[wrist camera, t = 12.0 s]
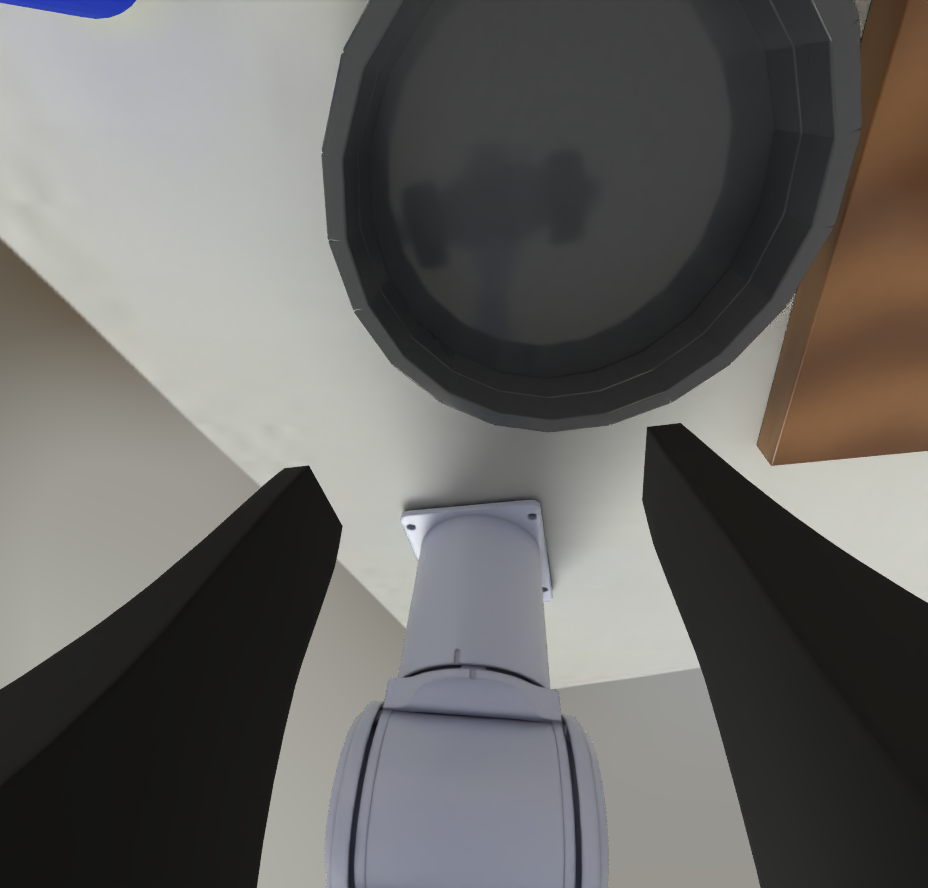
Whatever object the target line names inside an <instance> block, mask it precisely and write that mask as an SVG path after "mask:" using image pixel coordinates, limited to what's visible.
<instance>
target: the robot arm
mask: <svg viewBox="0 0 928 888" xmlns="http://www.w3.org/2000/svg"><path fill="white" fill-rule="evenodd" d="M642 501H643V505H644V509H645V513H646V517H647V521H648V525H649V529H650V533H651V537H652V541H653V544H654V547H655V550H656V553H657V555H658V558H659V560H660V563H661V566H662V568H663V571H664V573H665V576H666V578H667V581H668V584H669V586H670V589H671V591H672V594H673V596H674V599H675V601H676V604H677V607H678V609H679V612H680V614H681V617H682V619H683V622H684V624H685V627H686V629H687V632H688V635H689V637H690V640H691V642H692V645H693V647H694V650H695V652H696V655H697V658H698V661H699V664H700V667H701V670H702V673H703V675H704V678H705V682H706V685H707V689H708V692H709V696H710V699H711V702H712V706H713V710H714V713H715V717H716V720H717V723H718V727H719V731H720V734H721V738H722V741H723V745H724V749H725V752H726V756H727V760H728V763H729V767H730V771H731V774H732V778H733V781H734V785H735V789H736V793H737V796H738V800H739V804H740V808H741V812H742V816H743V819H744V823H745V827H746V831H747V835H748V839H749V843H750V847H751V851H752V855H753V859H754V862H755V866H756V870H757V874H758V879H759V883H760V887H761V888H928V603H927V602H925V601H924V600H922V599H920V598H918V597H917V596H915V595H913V594H912V593H910V592H908V591H907V590H905V589H904V588H902V587H900V586H899V585H897V584H895V583H894V582H892V581H891V580H889V579H887V578H886V577H884V576H883V575H881V574H879V573H878V572H876V571H875V570H873V569H871V568H870V567H868V566H867V565H865V564H863V563H862V562H860V561H859V560H857V559H855V558H854V557H852V556H851V555H849V554H848V553H846V552H845V551H843V550H842V549H840V548H839V547H837V546H836V545H834V544H833V543H831V542H830V541H829V540H827V539H826V538H824V537H823V536H821V535H820V534H819V533H817V532H816V531H814V530H813V529H812V528H810V527H809V526H807V525H806V524H805V523H803V522H802V521H800V520H799V519H798V518H796V517H795V516H794V515H792V514H791V513H790V512H788V511H787V510H786V509H784V508H783V507H782V506H780V505H779V504H778V503H776V502H775V501H774V500H772V499H771V498H770V497H769V496H767V495H766V494H765V493H764V492H762V491H761V490H760V489H759V488H757V487H756V486H755V485H753V484H752V483H751V482H750V481H748V480H747V479H746V478H745V477H743V476H742V475H741V474H740V473H739V472H737V471H736V470H735V469H734V468H733V467H731V466H730V465H729V464H728V463H727V462H725V461H724V460H723V459H722V458H721V457H720V456H718V455H717V454H716V453H715V452H714V451H713V450H711V449H710V448H709V447H708V446H707V445H706V444H704V443H703V442H702V441H701V440H700V439H699V438H697V437H696V436H695V435H694V434H693V433H692V432H691V431H689V430H688V429H687V428H686V427H685V426H683V425H682V424H681V423H678V424H669V425H660V426H652V427H647V436H646V451H645V466H644V482H643V497H642ZM530 514H533V515H530ZM401 523H402V525H403V527H404V530H405V532H406V534H407V537H408V539H409V541H410V544H411V546H412V549H413V551H414V553H415V556H416V558H417V560H418V567H417V572H416V578H415V583H414V589H413V595H412V600H411V606H410V611H409V617H408V623H407V628H406V634H405V639H404V645H403V650H402V656H401V662H400V667H399V673H398V678H390V679H389V680H388V684H387V689H386V694H385V699H384V701H372V702H370V703H369V704H368V705H367V706H366V708H365V709H364V711H363V712H362V713H360V714H359V715H358V716H357V717H356V719H355V720H354V721H353V723H352V725H351V727H350V729H349V731H348V734H347V736H346V739H345V742H344V745H343V748H342V751H341V755H340V758H339V762H338V766H337V770H336V774H335V778H334V783H333V788H332V793H331V799H330V804H329V810H328V817H327V826H326V837H325V867H326V873H327V887H326V888H607V887H608V874H609V848H608V829H607V816H606V807H605V799H604V792H603V785H602V779H601V773H600V769H599V763H598V759H597V755H596V752H595V748H594V745H593V743H592V740H591V738H590V736H589V735H588V733H587V732H586V731H585V730H584V729H583V728H582V726H581V725H580V723H579V722H578V720H577V719H576V717H574V716H572V715H564V714H563V715H562V714H561V708H560V697H559V691H558V690H556V689H550V679H549V666H548V654H547V641H546V628H545V616H544V603H543V602H549V601H551V600H552V598H553V595H552V587H551V580H550V573H549V565H548V558H547V551H546V544H545V536H544V529H543V522H542V514H541V507H540V504H539V502H538V501H536V500H521V501H510V502H499V503H488V504H477V505H466V506H455V507H444V508H433V509H422V510H411V511H405V512H403V513H402V515H401ZM411 524H413V525H411ZM341 532H342V524H341V522H340V521H339V519H338V517H337V515H336V513H335V512H334V510H333V508H332V506H331V504H330V503H329V501H328V499H327V497H326V495H325V494H324V492H323V490H322V488H321V486H320V485H319V483H318V481H317V479H316V478H315V476H314V474H313V472H312V470H311V469H310V467H309V466H301V467H293V468H284V469H283V470H282V471H280V472H279V473H278V474H277V475H275V476H274V477H273V478H272V479H270V480H269V481H268V482H267V483H266V484H265V485H264V486H262V487H261V488H260V489H259V490H258V491H257V492H256V493H255V494H254V495H252V496H251V497H250V498H249V499H248V500H247V501H246V502H245V503H243V504H242V505H241V506H240V507H239V508H238V509H237V510H236V511H235V512H234V513H233V514H231V515H230V516H229V517H228V518H227V519H226V520H225V521H224V522H222V523H221V524H220V525H219V526H218V527H217V528H216V529H215V530H214V531H213V532H211V533H210V534H209V535H208V536H207V537H206V538H205V539H204V540H203V541H201V542H200V543H199V544H198V545H197V546H195V547H194V548H193V549H192V550H191V551H190V552H188V553H187V554H186V555H185V556H184V557H183V558H181V559H180V560H179V561H178V562H177V563H175V564H174V565H173V566H172V567H171V568H170V569H168V570H167V571H166V572H165V573H164V574H162V575H161V576H160V577H159V578H158V579H157V580H155V581H154V582H153V583H152V584H150V585H149V586H148V587H147V588H145V589H144V590H143V591H142V592H140V593H139V594H138V595H136V596H135V597H134V598H133V599H131V600H130V601H129V602H127V603H126V604H125V605H124V606H122V607H121V608H119V609H118V610H117V611H115V612H114V613H113V614H111V615H110V616H109V617H107V618H106V619H105V620H103V621H102V622H101V623H99V624H98V625H96V626H95V627H94V628H92V629H91V630H89V631H88V632H87V633H85V634H84V635H82V636H81V637H79V638H78V639H76V640H75V641H73V642H72V643H70V644H69V645H68V646H66V647H64V648H63V649H62V650H60V651H58V652H57V653H56V654H54V655H53V656H51V657H50V658H48V659H47V660H45V661H44V662H42V663H41V664H39V665H38V666H36V667H35V668H33V669H32V670H30V671H29V672H27V673H26V674H24V675H23V676H21V677H20V678H18V679H17V680H15V681H13V682H12V683H10V684H9V685H7V686H5V687H4V688H2V689H0V888H257V882H258V874H259V868H260V860H261V853H262V846H263V840H264V835H265V828H266V823H267V817H268V811H269V806H270V800H271V794H272V789H273V783H274V778H275V774H276V769H277V764H278V759H279V754H280V750H281V745H282V740H283V735H284V731H285V726H286V722H287V718H288V714H289V710H290V706H291V701H292V697H293V693H294V689H295V685H296V681H297V678H298V675H299V671H300V668H301V665H302V662H303V659H304V656H305V653H306V650H307V647H308V644H309V641H310V638H311V636H312V633H313V630H314V627H315V624H316V621H317V618H318V615H319V613H320V609H321V607H322V604H323V601H324V598H325V595H326V592H327V589H328V586H329V583H330V580H331V577H332V574H333V570H334V567H335V563H336V558H337V554H338V549H339V543H340V538H341Z"/></svg>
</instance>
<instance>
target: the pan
mask: <svg viewBox="0 0 928 888" xmlns="http://www.w3.org/2000/svg"><path fill="white" fill-rule="evenodd" d="M858 18H859V13H858V11H857V9H856V6H855V4H854V2H853V0H369V2H368V4H367V6H366V8H365V10H364V11H363V13H362V15H361V17H360V19H359V21H358V22H357V24H356V26H355V28H354V30H353V32H352V34H351V35H350V37H349V39H348V41H347V43H346V45H345V46H344V49H343V51H344V52H343V53H342V54H341V59H340V64H339V69H338V73H337V78H336V83H335V88H334V93H333V98H332V103H331V107H330V112H329V117H328V122H327V127H326V132H325V137H324V141H323V146H322V152H323V153H322V168H323V182H324V195H325V208H326V221H327V234H328V240H329V245H330V247H331V250H332V253H333V256H334V258H335V261H336V264H337V266H338V269H339V272H340V275H341V277H342V280H343V283H344V286H345V288H346V291H347V294H348V297H349V299H350V302H351V305H352V308H353V310H354V311H355V314H356V316H357V317H358V318H359V320H360V321H361V322H362V324H363V325H364V327H365V328H366V329H367V331H368V332H369V333H370V335H371V336H372V338H373V339H374V340H375V342H376V343H377V344H378V346H379V347H380V349H381V350H382V351H383V353H384V354H385V356H386V357H387V358H388V360H389V361H390V362H391V364H392V365H394V367H396V368H397V369H398V370H399V371H401V372H402V373H403V374H404V375H406V376H407V377H408V378H410V379H411V380H412V381H413V382H415V383H416V384H417V385H418V386H420V387H421V388H422V389H424V390H425V391H426V392H427V393H429V394H430V395H431V396H432V397H434V398H435V399H436V400H438V401H439V402H441V403H443V404H445V405H447V406H450V407H452V408H455V409H457V410H459V411H462V412H464V413H467V414H469V415H471V416H474V417H476V418H479V419H481V420H483V421H486V422H488V423H491V424H494V425H498V426H506V427H513V428H521V429H528V430H536V431H543V432H550V431H551V432H557V431H565V430H574V429H582V428H591V427H599V426H608V425H609V424H610V425H612V424H615V423H617V422H620V421H623V420H626V419H628V418H631V417H634V416H636V415H639V414H642V413H645V412H647V411H650V410H653V409H655V408H658V407H661V406H664V405H666V404H669V403H670V402H673V401H675V400H677V399H678V398H680V397H681V396H683V395H684V394H686V393H687V392H689V391H690V390H692V389H693V388H695V387H696V386H698V385H699V384H701V383H703V382H704V381H706V380H707V379H709V378H710V377H712V376H713V375H715V374H716V373H718V372H719V371H721V370H722V369H724V368H725V367H727V366H729V365H730V364H731V362H733V361H734V360H735V359H736V358H737V357H738V356H739V355H740V354H741V353H742V352H743V351H744V350H745V349H746V348H747V347H748V346H749V344H750V343H751V342H752V341H753V340H754V339H755V338H756V337H757V336H758V335H759V334H760V333H761V332H762V331H763V330H764V329H765V328H766V327H767V326H768V325H769V324H770V323H771V322H772V321H773V320H774V319H775V317H776V316H777V315H778V314H779V313H780V312H781V311H782V310H783V309H784V308H785V307H786V304H788V303H789V302H790V300H791V298H792V297H793V295H794V293H795V292H796V290H797V288H798V287H799V285H800V283H801V281H802V280H803V278H804V276H805V275H806V273H807V271H808V270H809V268H810V266H811V265H812V263H813V261H814V259H815V258H816V256H817V254H818V253H819V251H820V249H821V248H822V246H823V244H824V243H825V241H826V239H827V237H828V236H829V234H830V232H831V231H832V229H833V225H834V224H835V222H836V218H837V215H838V211H839V208H840V204H841V201H842V197H843V194H844V190H845V187H846V183H847V180H848V176H849V173H850V169H851V166H852V162H853V159H854V155H855V152H856V148H857V145H858V141H859V138H860V134H861V129H860V128H861V127H862V93H861V50H860V21H859V19H858Z"/></svg>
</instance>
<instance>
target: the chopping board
mask: <svg viewBox="0 0 928 888" xmlns="http://www.w3.org/2000/svg"><path fill="white" fill-rule="evenodd" d="M860 50H861V93H862V127H861V128H860V129H861V134H860V138H859V141H858V145H857V148H856V152H855V155H854V159H853V162H852V166H851V169H850V173H849V176H848V180H847V183H846V187H845V190H844V194H843V197H842V201H841V204H840V208H839V211H838V215H837V218H836V222H835V224H834V225H833V229H832V231H831V232H830V234H829V236H828V237H827V239H826V241H825V243H824V244H823V246H822V248H821V249H820V251H819V253H818V254H817V256H816V258H815V259H814V261H813V263H812V265H811V266H810V268H809V270H808V271H807V273H806V275H805V276H804V278H803V280H802V281H801V283H800V285H799V287H798V288H797V292H796V296H795V300H794V304H793V307H792V311H791V315H790V319H789V323H788V327H787V331H786V334H785V338H784V342H783V346H782V350H781V354H780V358H779V361H778V365H777V369H776V373H775V377H774V381H773V385H772V388H771V392H770V396H769V400H768V404H767V408H766V412H765V415H764V419H763V423H762V427H761V431H760V435H759V439H758V443H757V447H758V448H759V450H760V451H761V452H762V454H763V455H764V457H765V458H766V459H767V461H768V462H769V464H770V465H771V466H774V465H785V464H795V463H806V462H816V461H826V460H837V459H847V458H858V457H868V456H879V455H889V454H900V453H910V452H921V451H928V0H872V3H871V6H870V10H869V14H868V18H867V22H866V26H865V30H864V33H863V37H862V41H861V45H860Z"/></svg>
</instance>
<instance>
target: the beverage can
mask: <svg viewBox="0 0 928 888" xmlns="http://www.w3.org/2000/svg"><path fill="white" fill-rule="evenodd" d="M135 1H136V0H0V3H5V4H11V5H17V6H22V7H28V8H34V9H40V10H45V11H51V12H57V13H63V14H68V15H74V16H80V17H87V18H94V19H99V18H109V17H112V16H115V15H118V14H120V13H122V12H124V11H125V10H126V9H128V8H129V7H131V6H132V5H133V3H134V2H135Z"/></svg>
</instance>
